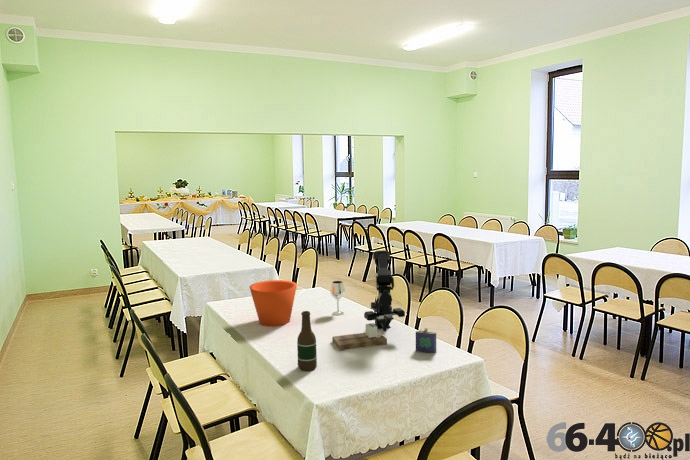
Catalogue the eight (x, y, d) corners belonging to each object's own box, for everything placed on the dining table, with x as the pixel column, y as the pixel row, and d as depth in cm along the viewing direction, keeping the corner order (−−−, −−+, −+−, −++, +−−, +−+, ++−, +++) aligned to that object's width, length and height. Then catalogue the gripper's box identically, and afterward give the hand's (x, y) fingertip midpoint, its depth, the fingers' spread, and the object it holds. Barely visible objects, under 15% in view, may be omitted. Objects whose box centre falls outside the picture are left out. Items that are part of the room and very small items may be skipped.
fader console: (377, 335, 248) (377, 330, 247) (387, 344, 236) (387, 338, 236) (332, 341, 241) (332, 336, 241) (339, 350, 230) (339, 344, 229)
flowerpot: (241, 326, 266) (240, 289, 264) (266, 312, 289) (265, 278, 287) (284, 331, 257) (282, 293, 254) (306, 317, 280) (305, 281, 277)
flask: (436, 351, 227) (436, 328, 225) (436, 353, 224) (436, 330, 223) (416, 349, 229) (415, 326, 228) (415, 351, 227) (414, 328, 225)
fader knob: (373, 333, 243) (373, 323, 242) (377, 336, 238) (377, 326, 238) (365, 334, 242) (365, 323, 241) (369, 337, 237) (369, 327, 236)
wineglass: (343, 315, 281) (343, 284, 278) (329, 315, 282) (328, 283, 280) (346, 311, 288) (346, 280, 286) (332, 311, 290) (331, 280, 288)
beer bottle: (298, 364, 215) (296, 309, 212) (316, 363, 216) (315, 308, 212) (298, 372, 207) (296, 315, 204) (317, 371, 208) (315, 314, 205)
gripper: (396, 293, 250) (396, 324, 252) (360, 297, 245) (360, 328, 247) (405, 299, 240) (405, 331, 242) (367, 303, 234) (368, 336, 236)
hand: (384, 331), depth 242 cm, fingers closed
